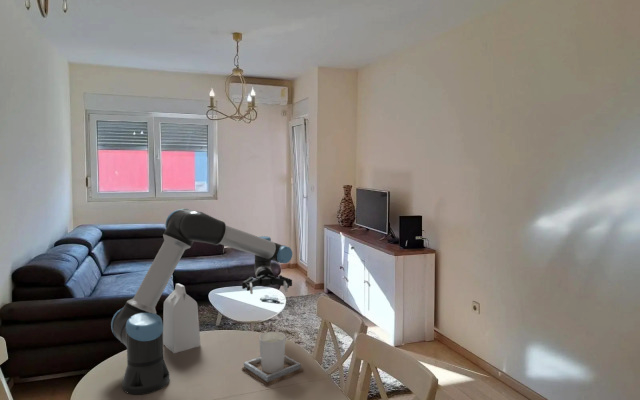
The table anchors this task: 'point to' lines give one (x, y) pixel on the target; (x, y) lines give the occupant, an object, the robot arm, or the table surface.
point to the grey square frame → (294, 367)
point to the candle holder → (272, 351)
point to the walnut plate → (271, 373)
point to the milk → (180, 321)
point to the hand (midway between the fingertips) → (269, 289)
